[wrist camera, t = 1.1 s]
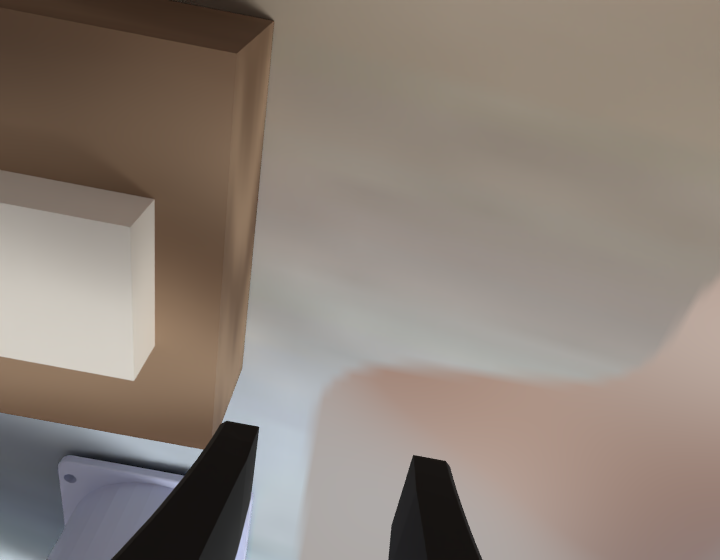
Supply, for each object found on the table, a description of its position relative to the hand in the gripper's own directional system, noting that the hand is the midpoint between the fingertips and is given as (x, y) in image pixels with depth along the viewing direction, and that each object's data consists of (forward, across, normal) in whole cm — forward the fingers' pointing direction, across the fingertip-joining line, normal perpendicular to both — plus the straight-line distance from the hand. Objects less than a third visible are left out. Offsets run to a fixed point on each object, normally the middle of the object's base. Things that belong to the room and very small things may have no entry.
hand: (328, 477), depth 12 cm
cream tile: (+5, +8, 0) cm, 9 cm away
